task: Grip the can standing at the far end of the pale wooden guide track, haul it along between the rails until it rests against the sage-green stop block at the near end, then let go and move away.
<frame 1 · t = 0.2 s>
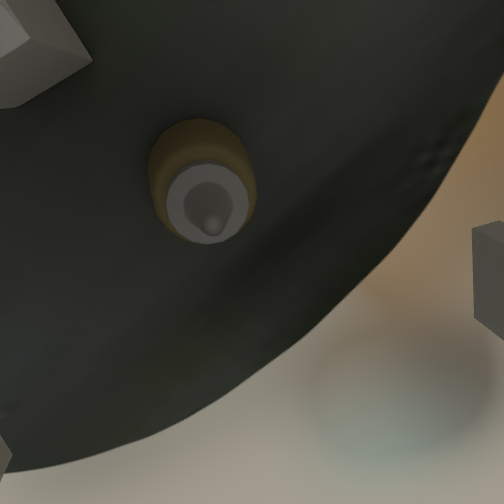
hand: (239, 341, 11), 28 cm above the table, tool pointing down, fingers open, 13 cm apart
squeeze bottle: (197, 163, 37), on the table
milk carton: (25, 40, 31), on the table
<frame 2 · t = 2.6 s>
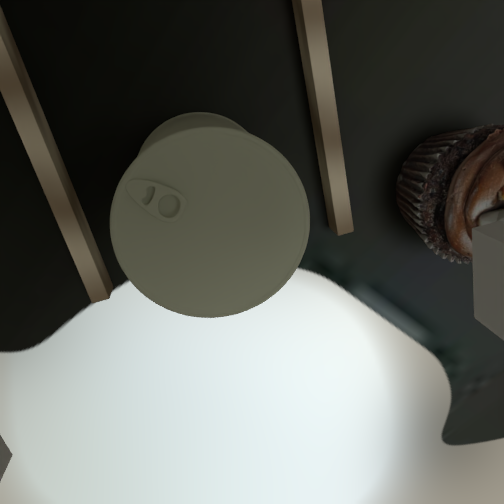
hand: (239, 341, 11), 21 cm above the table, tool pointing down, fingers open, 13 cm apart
cupcake: (441, 183, 33), on the table
can: (201, 179, 30), on the table
guide track: (163, 42, 26), on the table
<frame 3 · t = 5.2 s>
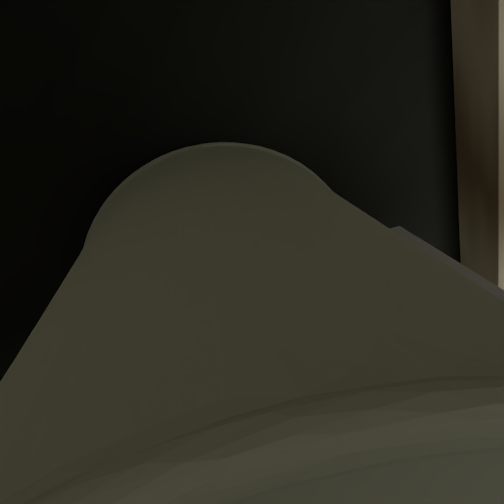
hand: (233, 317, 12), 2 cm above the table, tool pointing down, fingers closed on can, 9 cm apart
can: (224, 278, 14), on the table, touching gripper
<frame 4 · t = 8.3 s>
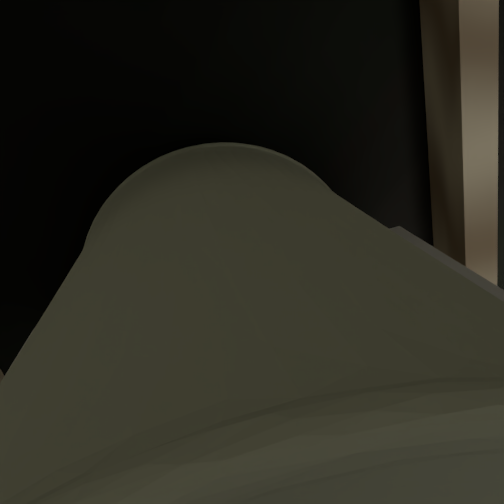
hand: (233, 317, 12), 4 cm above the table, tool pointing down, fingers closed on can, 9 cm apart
can: (224, 278, 14), point 1 cm above the table, touching gripper
guide track: (218, 280, 16), on the table
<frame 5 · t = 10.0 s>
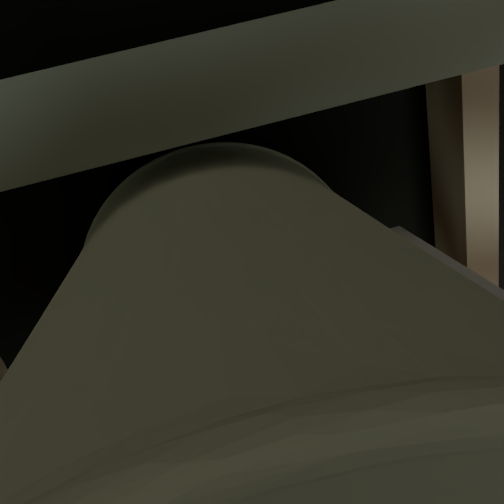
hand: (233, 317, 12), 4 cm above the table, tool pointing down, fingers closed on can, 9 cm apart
can: (224, 278, 14), point 1 cm above the table, touching gripper
guide track: (263, 426, 19), on the table
when the fingers open (4 cm above the table, at t = 11.3 s): can drops 1 cm, on the table.
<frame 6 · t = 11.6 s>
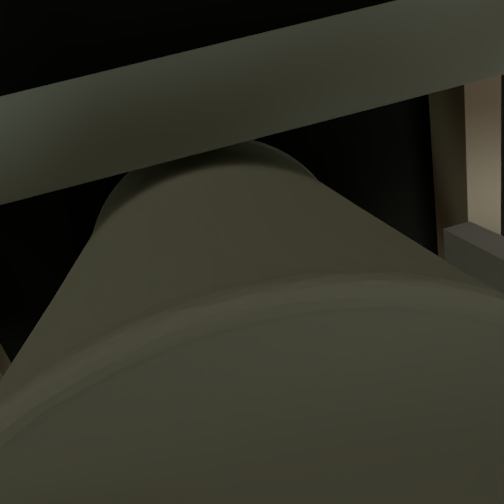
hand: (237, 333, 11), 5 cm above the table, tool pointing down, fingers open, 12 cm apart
can: (221, 261, 16), on the table
guide track: (267, 427, 19), on the table
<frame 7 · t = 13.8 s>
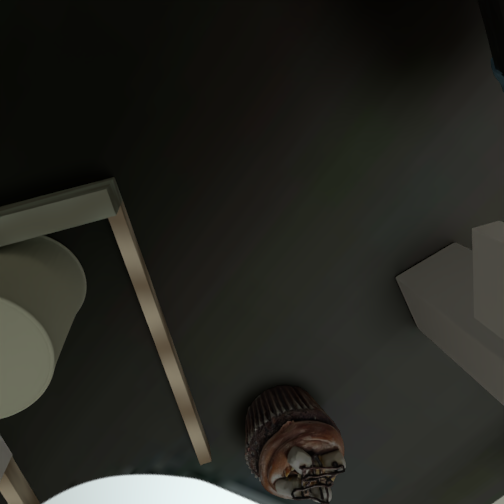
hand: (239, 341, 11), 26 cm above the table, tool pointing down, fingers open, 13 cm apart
cupcake: (280, 413, 46), on the table
can: (30, 282, 36), on the table
guide track: (66, 361, 39), on the table
milk carton: (433, 284, 44), on the table
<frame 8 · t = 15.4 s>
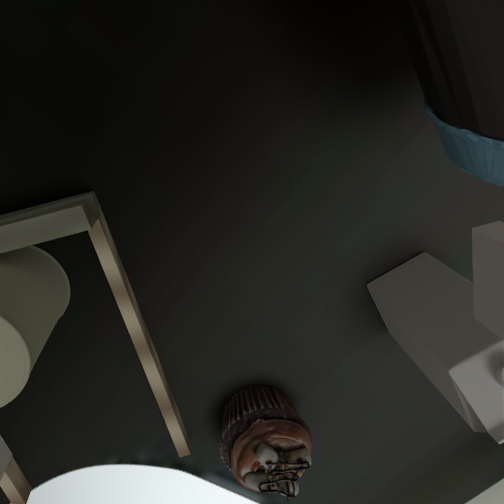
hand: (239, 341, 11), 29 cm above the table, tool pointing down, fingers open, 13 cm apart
cupcake: (257, 411, 48), on the table
can: (18, 286, 39), on the table
guide track: (53, 359, 42), on the table
milk carton: (404, 291, 46), on the table
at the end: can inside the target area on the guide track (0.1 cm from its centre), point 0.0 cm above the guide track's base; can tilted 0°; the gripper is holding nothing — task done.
